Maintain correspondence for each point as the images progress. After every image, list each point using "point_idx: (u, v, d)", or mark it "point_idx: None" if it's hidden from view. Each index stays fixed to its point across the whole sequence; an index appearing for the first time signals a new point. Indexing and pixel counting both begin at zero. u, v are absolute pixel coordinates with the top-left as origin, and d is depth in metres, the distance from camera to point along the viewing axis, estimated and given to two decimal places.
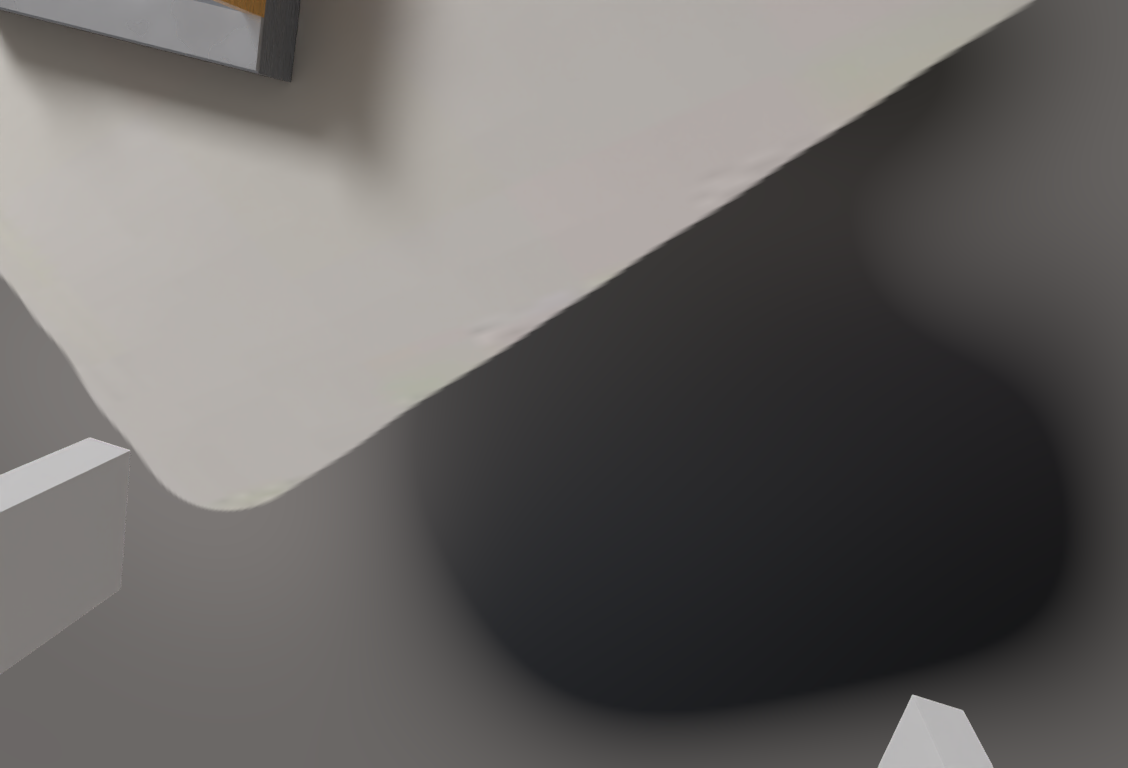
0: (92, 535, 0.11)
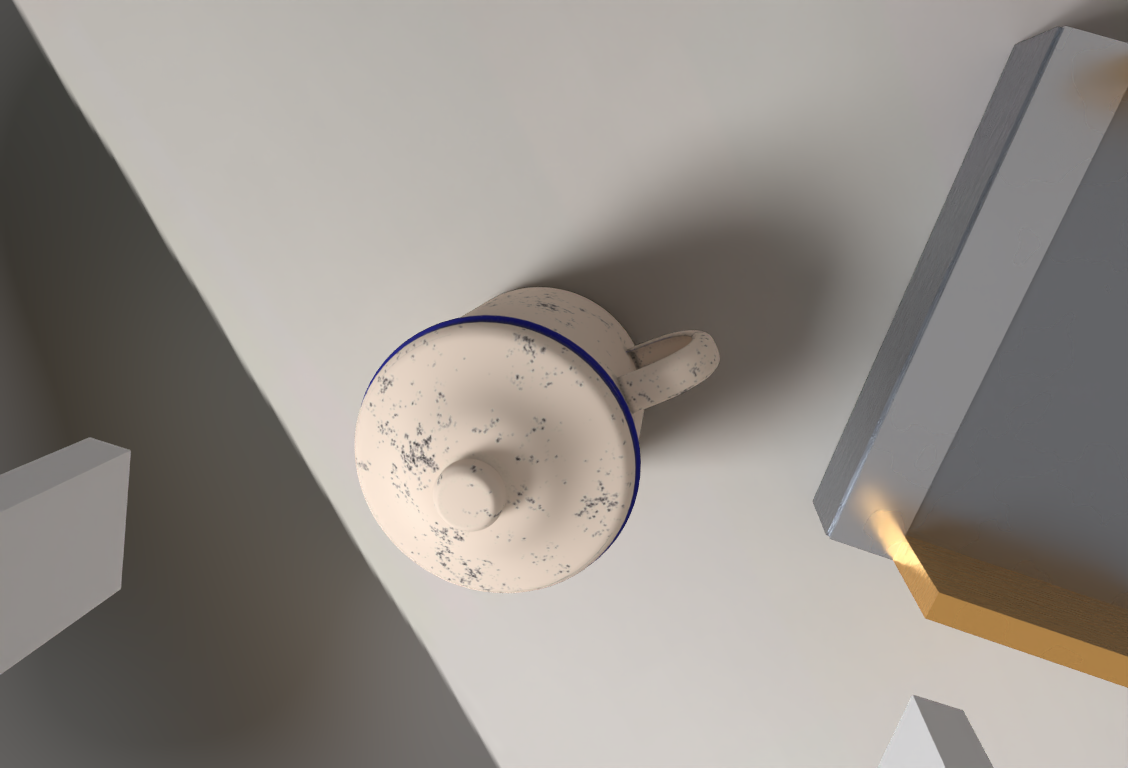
0: (92, 535, 0.11)
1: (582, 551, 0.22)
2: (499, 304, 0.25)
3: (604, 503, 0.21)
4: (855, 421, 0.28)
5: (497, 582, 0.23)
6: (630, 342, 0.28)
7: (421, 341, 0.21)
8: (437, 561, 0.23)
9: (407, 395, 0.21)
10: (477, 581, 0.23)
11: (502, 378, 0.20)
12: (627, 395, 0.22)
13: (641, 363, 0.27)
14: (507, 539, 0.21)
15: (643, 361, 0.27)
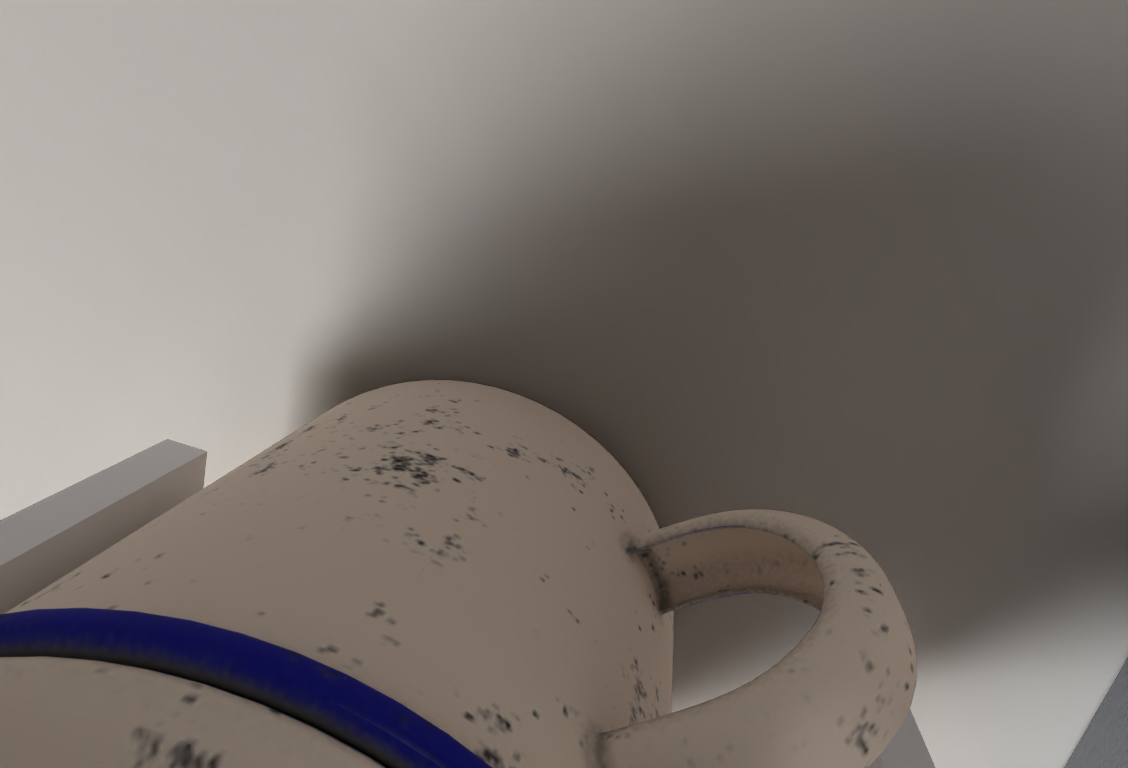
0: None
1: None
2: (280, 466, 0.09)
3: None
4: None
5: None
6: (636, 501, 0.13)
7: None
8: None
9: None
10: None
11: None
12: None
13: (664, 568, 0.11)
14: None
15: (670, 562, 0.11)
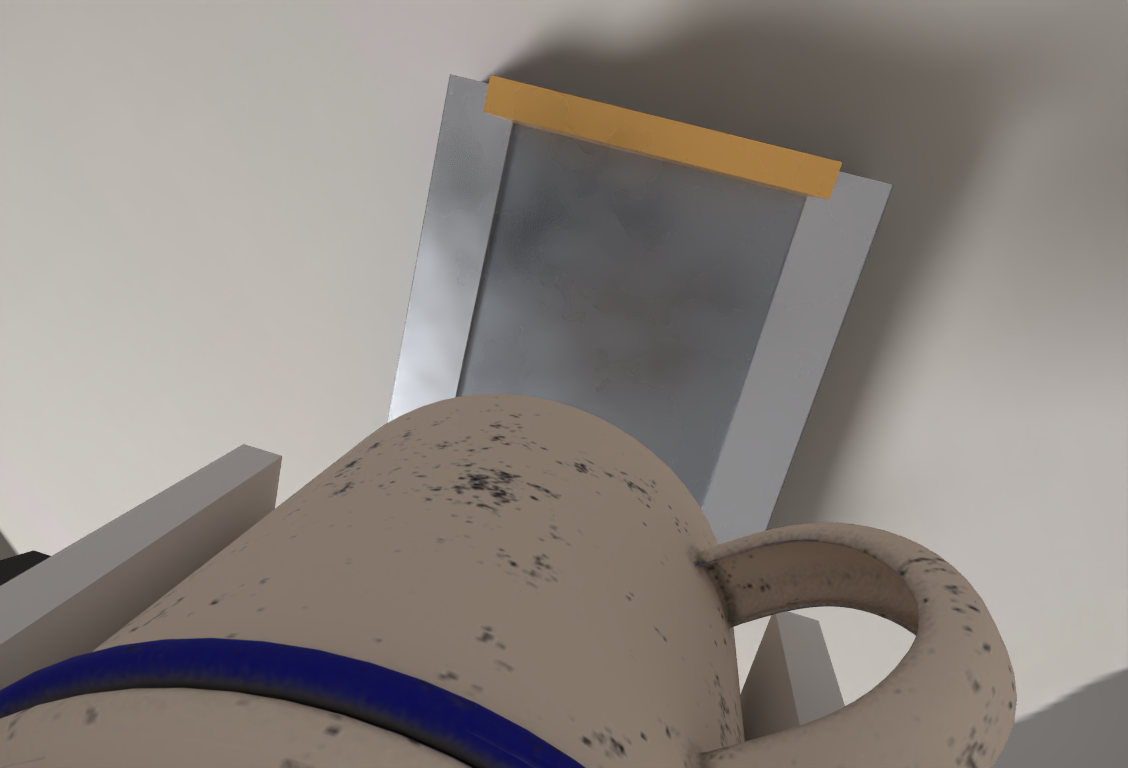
0: None
1: None
2: (358, 486, 0.09)
3: None
4: None
5: None
6: (695, 513, 0.13)
7: None
8: None
9: None
10: None
11: None
12: None
13: (730, 581, 0.11)
14: None
15: (735, 574, 0.11)
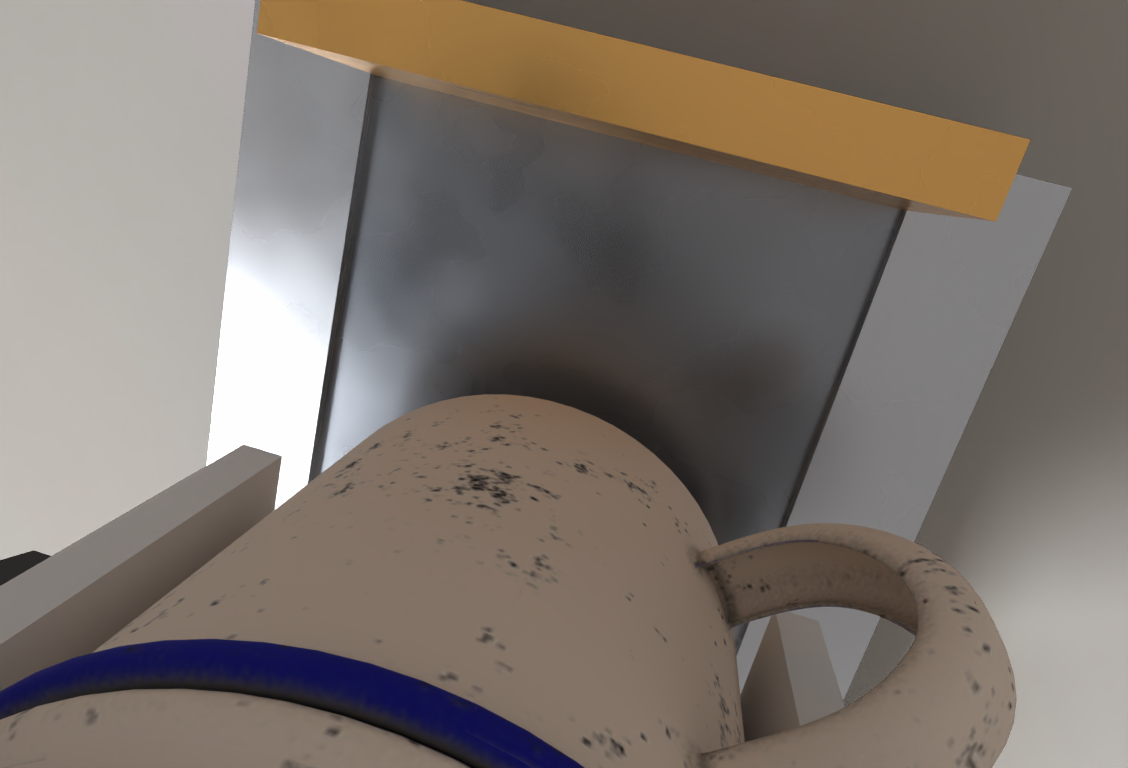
0: None
1: None
2: (359, 486, 0.09)
3: None
4: None
5: None
6: (695, 513, 0.13)
7: None
8: None
9: None
10: None
11: None
12: None
13: (730, 581, 0.11)
14: None
15: (735, 574, 0.11)
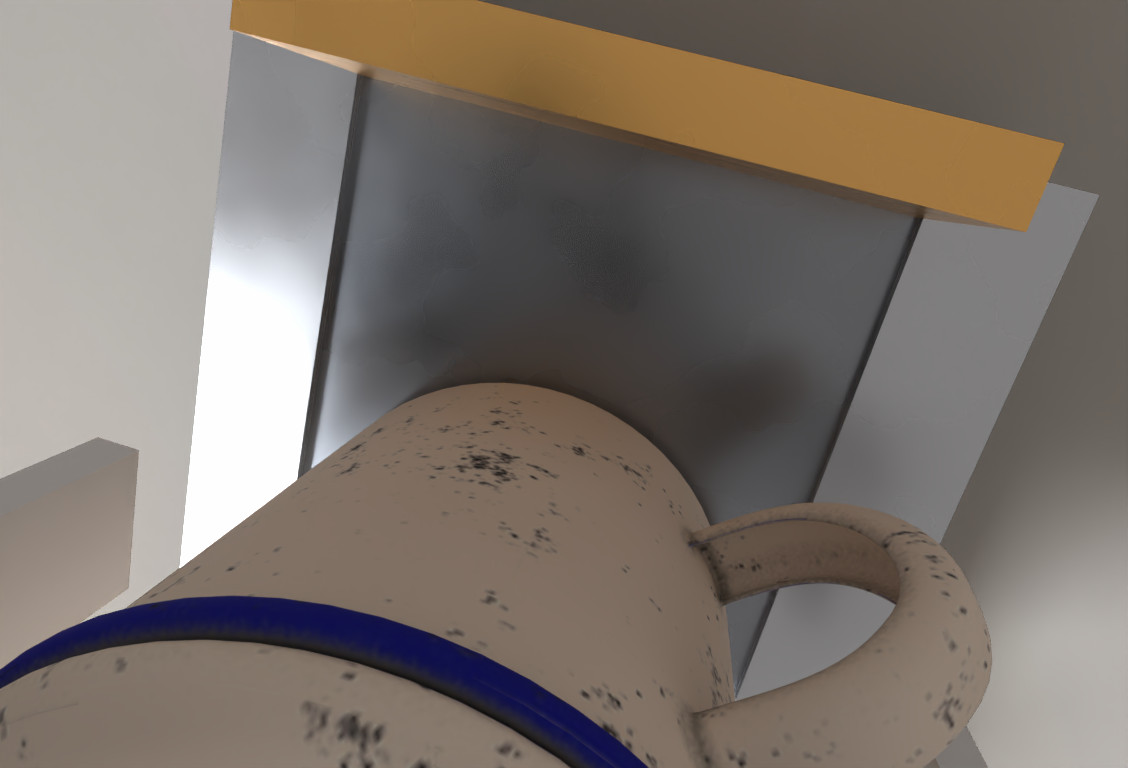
0: (101, 534, 0.12)
1: None
2: (364, 466, 0.10)
3: None
4: None
5: None
6: (689, 497, 0.13)
7: None
8: None
9: None
10: None
11: None
12: None
13: (722, 561, 0.12)
14: None
15: (728, 555, 0.12)
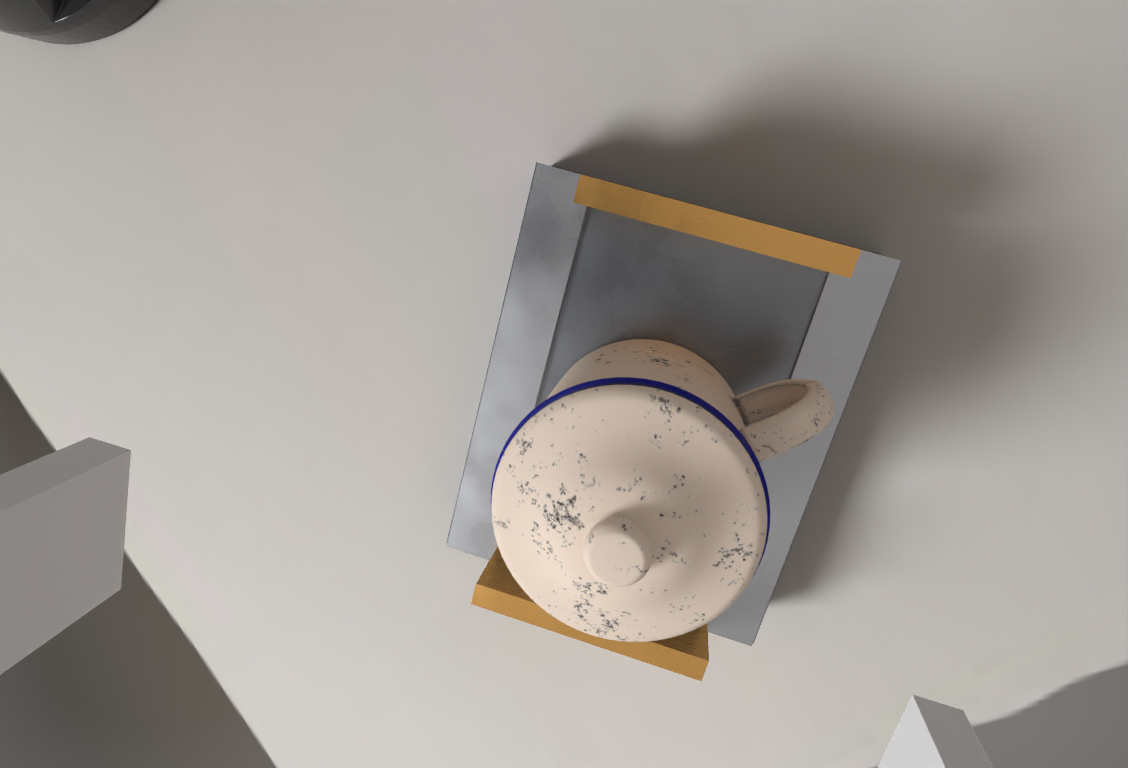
0: (92, 535, 0.11)
1: (717, 599, 0.23)
2: (613, 361, 0.26)
3: (740, 553, 0.22)
4: None
5: (633, 632, 0.23)
6: (730, 389, 0.29)
7: (558, 404, 0.22)
8: (574, 613, 0.24)
9: (547, 456, 0.22)
10: (613, 631, 0.24)
11: (641, 438, 0.22)
12: (751, 447, 0.23)
13: (745, 410, 0.28)
14: (649, 591, 0.22)
15: (747, 408, 0.28)
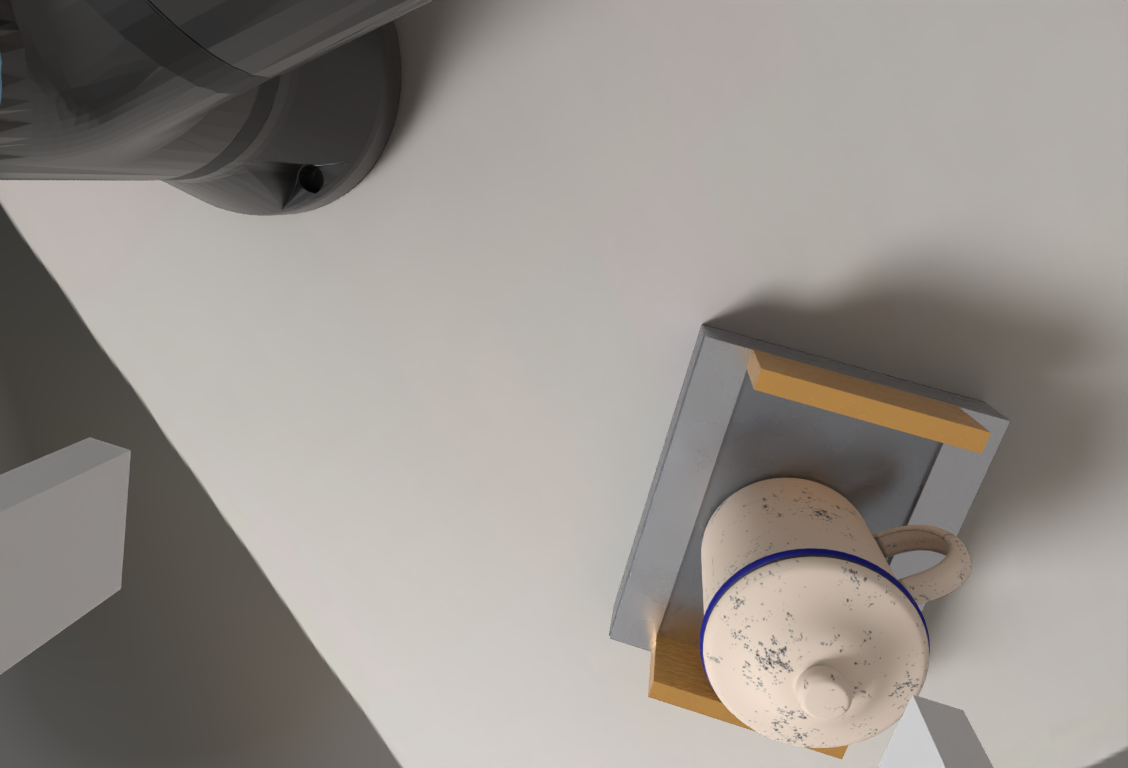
0: (92, 535, 0.11)
1: (888, 719, 0.29)
2: (784, 514, 0.32)
3: (909, 685, 0.28)
4: (630, 556, 0.42)
5: (818, 741, 0.30)
6: (864, 521, 0.36)
7: (766, 571, 0.29)
8: (771, 727, 0.30)
9: (758, 612, 0.29)
10: (801, 741, 0.30)
11: (836, 601, 0.28)
12: (910, 596, 0.30)
13: (882, 544, 0.34)
14: (841, 718, 0.28)
15: (884, 541, 0.34)
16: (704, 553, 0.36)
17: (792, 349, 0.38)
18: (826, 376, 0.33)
